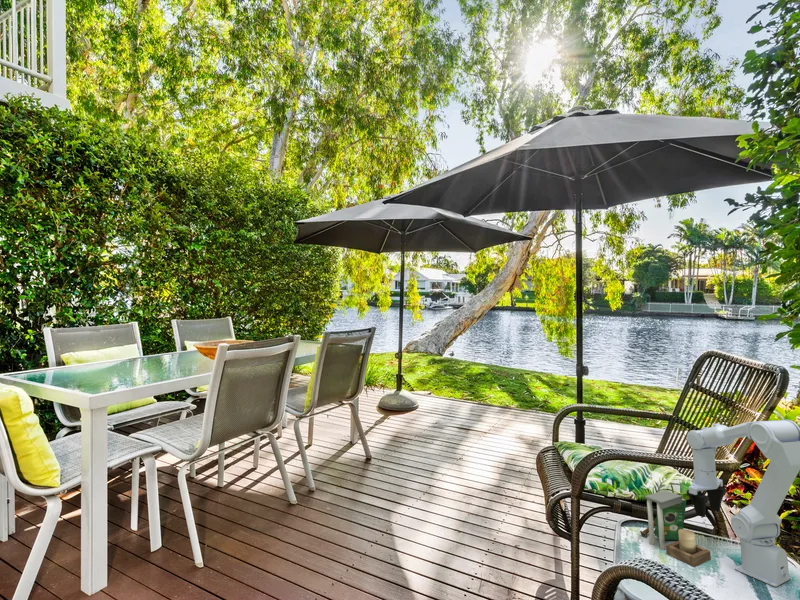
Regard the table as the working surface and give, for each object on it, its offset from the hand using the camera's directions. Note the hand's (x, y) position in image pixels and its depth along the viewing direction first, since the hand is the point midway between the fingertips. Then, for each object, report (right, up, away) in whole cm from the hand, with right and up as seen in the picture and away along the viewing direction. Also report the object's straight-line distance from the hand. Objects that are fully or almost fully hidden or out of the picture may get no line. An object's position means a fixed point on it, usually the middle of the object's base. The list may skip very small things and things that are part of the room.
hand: (708, 513), depth 134 cm
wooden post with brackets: (-14, -11, +7) cm, 19 cm away
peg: (-11, -9, -7) cm, 16 cm away
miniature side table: (-12, -10, +1) cm, 16 cm away
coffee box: (-10, -10, +3) cm, 15 cm away
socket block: (-11, -9, -7) cm, 16 cm away
